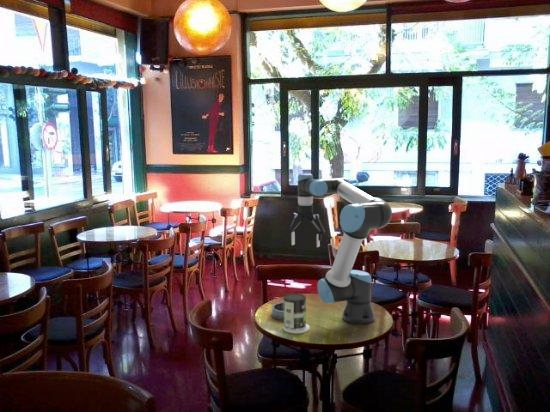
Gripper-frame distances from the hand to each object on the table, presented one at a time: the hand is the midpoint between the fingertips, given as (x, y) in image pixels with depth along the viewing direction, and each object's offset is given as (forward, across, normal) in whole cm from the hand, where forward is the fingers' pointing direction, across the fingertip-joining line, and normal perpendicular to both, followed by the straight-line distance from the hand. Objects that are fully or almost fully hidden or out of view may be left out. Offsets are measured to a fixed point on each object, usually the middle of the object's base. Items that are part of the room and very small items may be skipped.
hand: (305, 245), depth 269 cm
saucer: (+32, -7, +31) cm, 45 cm away
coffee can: (+31, -6, +31) cm, 44 cm away
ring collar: (+32, +4, +16) cm, 36 cm away
